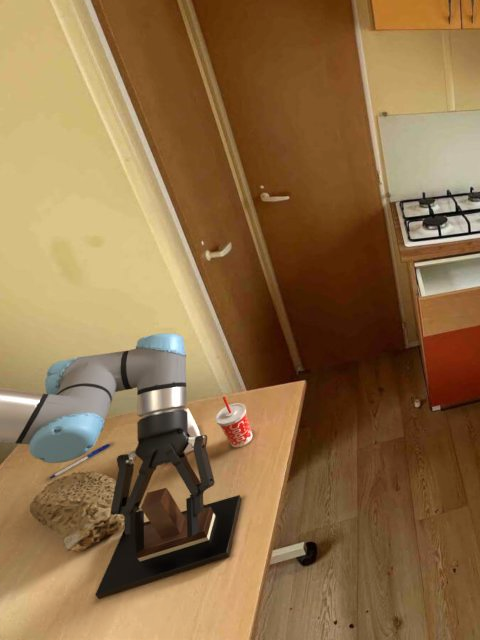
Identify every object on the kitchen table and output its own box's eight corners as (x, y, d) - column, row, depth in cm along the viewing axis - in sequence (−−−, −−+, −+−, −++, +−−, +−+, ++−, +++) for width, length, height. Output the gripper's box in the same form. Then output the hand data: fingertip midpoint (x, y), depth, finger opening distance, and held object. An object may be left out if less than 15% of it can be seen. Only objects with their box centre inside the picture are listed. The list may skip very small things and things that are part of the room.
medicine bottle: (198, 427, 106) (180, 392, 100) (203, 445, 101) (185, 409, 96) (163, 444, 101) (143, 408, 96) (167, 463, 97) (146, 427, 91)
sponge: (144, 521, 86) (114, 454, 96) (121, 509, 81) (91, 440, 90) (64, 581, 79) (39, 502, 88) (33, 572, 74) (10, 489, 83)
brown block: (139, 561, 77) (109, 521, 72) (150, 534, 81) (122, 494, 76) (208, 540, 81) (185, 500, 75) (215, 515, 85) (193, 475, 79)
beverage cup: (225, 453, 99) (205, 411, 93) (229, 434, 104) (210, 392, 98) (255, 444, 101) (237, 402, 95) (257, 425, 106) (240, 384, 100)
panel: (98, 599, 73) (94, 595, 73) (127, 532, 83) (124, 527, 83) (229, 557, 79) (226, 552, 79) (241, 499, 89) (239, 494, 89)
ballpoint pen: (109, 444, 102) (107, 441, 101) (111, 446, 101) (109, 443, 101) (50, 478, 94) (48, 475, 93) (51, 480, 93) (49, 477, 93)
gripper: (230, 400, 89) (238, 518, 83) (110, 427, 82) (108, 557, 76) (216, 399, 82) (223, 528, 76) (83, 429, 76) (79, 572, 70)
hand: (165, 543), depth 76 cm, fingers open, 8 cm apart
